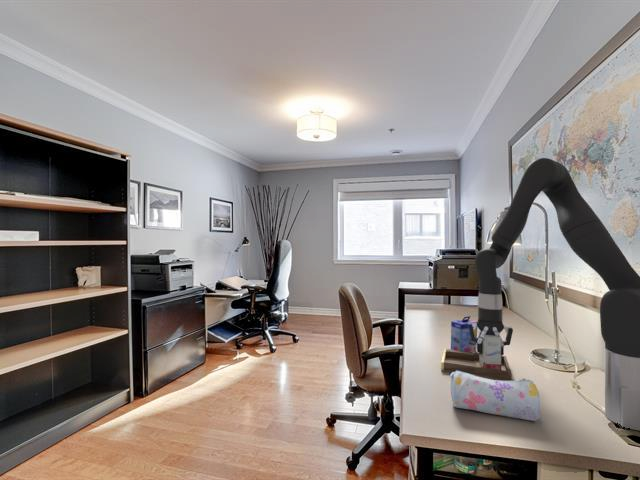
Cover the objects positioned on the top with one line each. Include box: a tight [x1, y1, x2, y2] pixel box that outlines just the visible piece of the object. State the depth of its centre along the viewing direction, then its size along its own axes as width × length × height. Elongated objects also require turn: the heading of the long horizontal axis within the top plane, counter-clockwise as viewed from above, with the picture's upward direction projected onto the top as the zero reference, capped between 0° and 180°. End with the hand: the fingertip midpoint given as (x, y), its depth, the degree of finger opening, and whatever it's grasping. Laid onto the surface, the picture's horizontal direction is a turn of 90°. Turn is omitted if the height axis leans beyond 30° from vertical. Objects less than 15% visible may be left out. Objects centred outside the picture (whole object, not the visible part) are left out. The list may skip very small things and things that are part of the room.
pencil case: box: [449, 371, 541, 422], centre depth 86 cm, size 21×9×10 cm, turn 72°
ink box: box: [478, 330, 502, 370], centre depth 114 cm, size 9×5×12 cm, turn 168°
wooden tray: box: [440, 348, 512, 381], centre depth 116 cm, size 16×21×3 cm
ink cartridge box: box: [450, 315, 478, 353], centre depth 134 cm, size 10×6×14 cm, turn 117°
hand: (490, 354), depth 114 cm, fingers closed on ink box, 5 cm apart
